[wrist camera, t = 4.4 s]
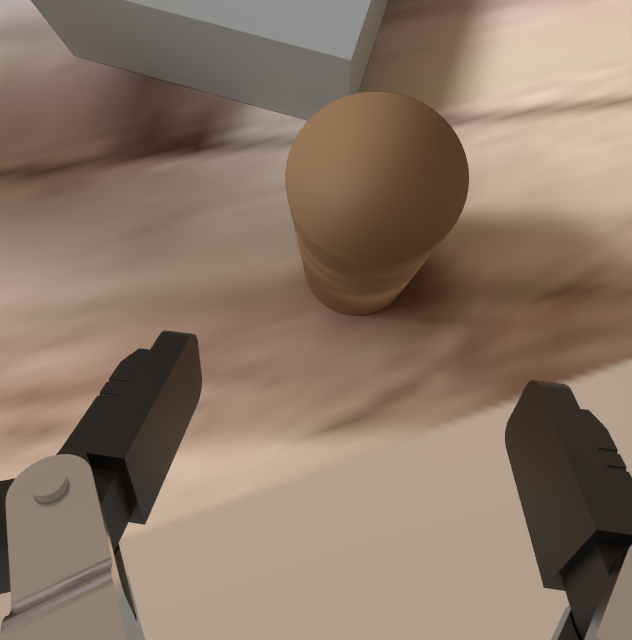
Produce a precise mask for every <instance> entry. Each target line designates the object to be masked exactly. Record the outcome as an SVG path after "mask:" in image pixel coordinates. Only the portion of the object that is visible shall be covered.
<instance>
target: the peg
mask: <svg viewBox="0 0 632 640" xmlns="http://www.w3.org/2000/svg"><path fill="white" fill-rule="evenodd" d="M468 185H469V171H468V163H467V159H466V155H465V152H464V149H463V146H462V144H461V142H460V140H459V138H458V136H457V135H456V133H455V132H454V130H453V129H452V127H451V126H450V125H449V124H448V123H447V122H446V120H445V119H444V118H443V117H442V116H441V115H439V114H438V113H437V112H436V111H435V110H433V109H432V108H430V107H429V106H427V105H426V104H424V103H422V102H420V101H418V100H416V99H414V98H411V97H408V96H405V95H402V94H397V93H392V92H382V91H373V92H362V93H356V94H352V95H349V96H346V97H343V98H341V99H338V100H336V101H334V102H332V103H330V104H329V105H327V106H325V107H323V108H322V109H321V110H320V111H318V112H317V113H316V114H314V115H313V116H312V117H311V118H310V119H309V120H308V121H307V122H306V124H305V125H304V126H303V128H302V129H301V130H300V132H299V133H298V135H297V137H296V138H295V140H294V142H293V145H292V147H291V150H290V152H289V156H288V160H287V165H286V190H287V196H288V200H289V205H290V209H291V213H292V218H293V222H294V226H295V231H296V235H297V239H298V243H299V248H300V252H301V256H302V261H303V265H304V269H305V274H306V278H307V281H308V284H309V286H310V288H311V290H312V291H313V293H314V295H315V296H316V297H317V298H318V299H319V300H320V301H321V302H322V303H323V304H324V305H325V306H327V307H328V308H330V309H332V310H334V311H336V312H339V313H341V314H345V315H352V316H362V315H369V314H372V313H375V312H378V311H380V310H382V309H383V308H385V307H387V306H388V305H389V304H391V303H392V302H393V301H394V300H395V299H396V298H397V296H398V295H399V294H400V293H401V291H402V290H403V289H404V288H405V286H406V285H407V284H408V283H409V281H410V280H411V279H412V278H413V276H414V275H415V274H416V273H417V271H418V270H419V269H420V268H421V266H422V265H423V264H424V263H425V261H426V260H427V259H428V258H429V256H430V255H431V254H432V253H433V251H434V250H435V249H436V248H437V247H438V245H439V244H440V243H441V242H442V240H443V239H444V238H445V237H446V235H447V234H448V233H449V232H450V230H451V229H452V227H453V226H454V225H455V223H456V222H457V220H458V218H459V216H460V214H461V212H462V210H463V207H464V204H465V202H466V198H467V193H468Z"/></svg>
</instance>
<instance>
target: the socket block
mask: <svg viewBox="0 0 632 640" xmlns="http://www.w3.org/2000/svg"><path fill="white" fill-rule="evenodd" d="M31 1H32V3H33V4H34V5H35V6H36V8H37V9H38V10H39V12H40V13H41V14H42V15H43V17H44V18H45V19H46V20H47V22H48V23H49V24H50V26H51V27H52V28H53V29H54V31H55V32H56V33H57V35H58V36H59V37H60V38H61V40H62V41H63V42H64V43H65V45H66V46H67V47H68V49H69V50H70V51H71V52H72V54H73V55H74V56H78V57H81V58H85V59H88V60H92V61H96V62H99V63H103V64H107V65H110V66H114V67H117V68H121V69H125V70H128V71H132V72H135V73H139V74H143V75H146V76H150V77H153V78H157V79H161V80H164V81H168V82H172V83H175V84H179V85H182V86H186V87H190V88H193V89H197V90H200V91H204V92H208V93H211V94H215V95H218V96H222V97H226V98H229V99H233V100H237V101H240V102H244V103H247V104H251V105H255V106H258V107H262V108H265V109H269V110H273V111H276V112H280V113H284V114H287V115H291V116H294V117H298V118H302V119H305V120H309V119H310V118H311V117H312V116H313V115H314V114H316V113H317V112H318V111H320V110H321V109H322V108H323V107H325V106H327V105H329V104H330V103H332V102H334V101H336V100H338V99H341V98H343V97H346V96H349V95H352V94H356V93H359V90H360V87H361V84H362V80H363V77H364V74H365V71H366V68H367V65H368V62H369V59H370V56H371V53H372V50H373V47H374V44H375V41H376V37H377V34H378V31H379V28H380V25H381V22H382V19H383V16H384V13H385V10H386V7H387V4H388V1H389V0H31Z"/></svg>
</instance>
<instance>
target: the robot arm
mask: <svg viewBox="0 0 632 640" xmlns="http://www.w3.org/2000/svg"><path fill="white" fill-rule="evenodd" d="M201 388H202V375H201V366H200V357H199V349H198V340H197V337H196V335H195V334H189V333H181V332H174V331H166V330H165V331H163V332H161V334H160V335H159V337H158V338H157V340H156V341H155V343H154V345H153V346H152V348H151V349H150V350H148V349H140V348H139V349H137V350H136V351H135V352H133V353H132V354H131V355H129V356H128V357H127V358H125V359H124V360H122V361H121V362H120V364H119V365H118V366H117V368H116V369H115V371H114V372H113V374H112V375H111V377H110V378H109V382H107V383H106V384H105V385H104V387H103V388H102V390H101V391H100V395H99V396H97V397H96V399H95V400H94V401H93V403H92V404H91V406H90V407H89V409H88V410H87V412H86V413H85V415H84V416H83V418H82V419H81V420H80V422H79V423H78V425H77V426H76V428H75V429H74V431H73V432H72V434H71V435H70V437H69V438H68V439H67V441H66V442H65V444H64V445H63V447H62V448H61V449H60V451H59V452H58V453H57V454H56V455H54V456H50V457H47V458H44V459H42V460H39V461H37V462H36V463H34V464H32V465H30V466H29V467H28V468H26V469H25V470H24V471H23V472H21V473H20V474H19V475H18V477H17V478H15V479H10V480H4V481H0V594H2V593H7V592H11V611H10V614H9V615H8V616H6V617H5V618H4V619H3V621H2V624H1V629H0V640H145V638H144V634H143V631H142V628H141V624H140V620H139V616H138V612H137V608H136V604H135V600H134V596H133V592H132V588H131V584H130V580H129V576H128V572H127V568H126V564H125V559H124V556H123V552H122V547H121V543H120V539H121V537H122V535H123V533H124V530H125V528H126V526H127V524H128V522H132V523H138V524H146V521H147V519H148V517H149V514H150V512H151V510H152V507H153V505H154V503H155V501H156V498H157V496H158V494H159V491H160V489H161V487H162V484H163V482H164V480H165V478H166V475H167V473H168V471H169V468H170V466H171V464H172V461H173V459H174V457H175V454H176V452H177V450H178V448H179V445H180V443H181V441H182V438H183V436H184V434H185V431H186V429H187V427H188V425H189V422H190V420H191V418H192V415H193V413H194V411H195V408H196V406H197V404H198V401H199V398H200V394H201ZM505 444H506V449H507V453H508V456H509V460H510V464H511V468H512V471H513V475H514V479H515V483H516V486H517V490H518V494H519V497H520V501H521V505H522V508H523V512H524V516H525V519H526V523H527V527H528V531H529V534H530V538H531V542H532V545H533V549H534V553H535V556H536V560H537V564H538V567H539V571H540V575H541V578H542V582H543V586H544V588H550V589H556V590H563V591H566V594H567V598H568V601H569V604H570V605H569V606H568V607H567V608H566V609H565V611H564V612H563V614H562V617H561V619H560V621H559V624H558V626H557V628H556V630H555V632H554V635H553V637H552V639H551V640H632V477H631V475H630V474H629V472H627V471H626V465H625V463H624V462H623V459H622V458H621V456H620V454H618V453H617V451H618V450H617V448H616V446H615V444H614V442H613V440H612V438H611V436H610V434H609V432H608V430H607V429H606V428H605V427H604V425H603V424H602V423H601V422H600V421H599V420H598V419H597V418H596V417H595V416H594V415H593V414H592V413H591V412H590V411H589V410H584V409H580V407H579V405H578V404H577V401H576V399H575V397H574V395H573V393H572V391H571V389H570V388H569V386H567V385H565V384H558V383H551V382H543V381H536V380H532V381H530V382H529V383H528V384H527V385H526V387H525V389H524V391H523V393H522V395H521V397H520V399H519V401H518V403H517V405H516V407H515V409H514V411H513V412H512V414H511V416H510V418H509V420H508V423H507V426H506V431H505Z"/></svg>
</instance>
